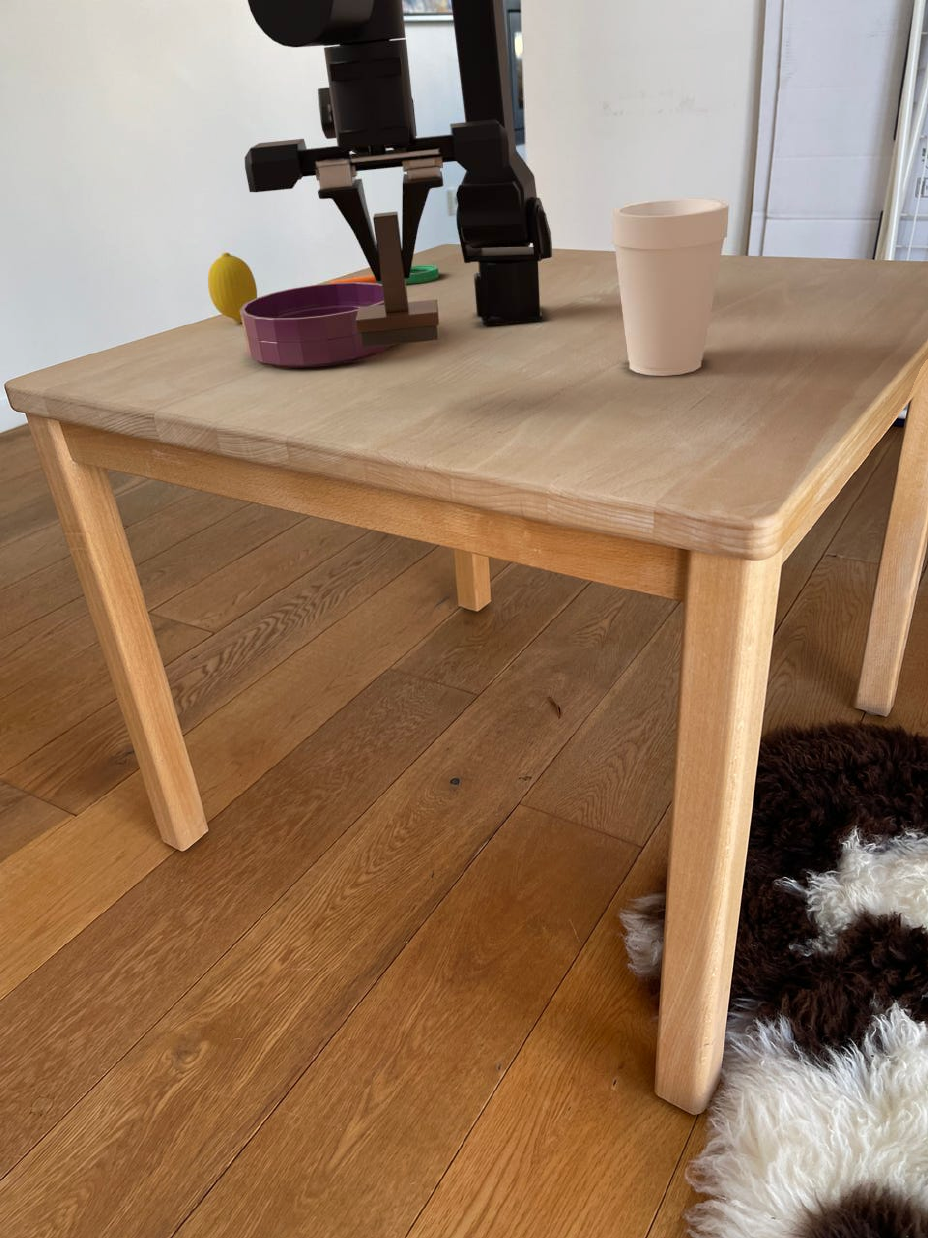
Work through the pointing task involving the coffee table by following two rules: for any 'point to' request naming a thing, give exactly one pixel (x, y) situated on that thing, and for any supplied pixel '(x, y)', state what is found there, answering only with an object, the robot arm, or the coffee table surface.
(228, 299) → the lemon
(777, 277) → the coffee table surface
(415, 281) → the magnifying glass
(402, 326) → the brush
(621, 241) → the foam cup
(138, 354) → the coffee table surface
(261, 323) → the bowl
